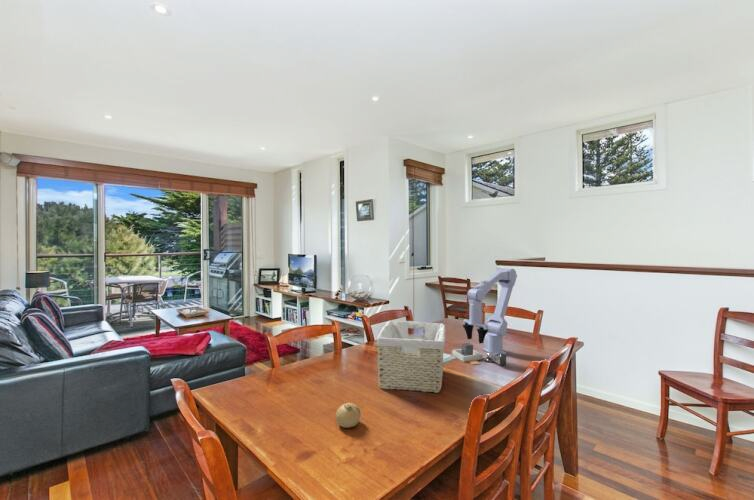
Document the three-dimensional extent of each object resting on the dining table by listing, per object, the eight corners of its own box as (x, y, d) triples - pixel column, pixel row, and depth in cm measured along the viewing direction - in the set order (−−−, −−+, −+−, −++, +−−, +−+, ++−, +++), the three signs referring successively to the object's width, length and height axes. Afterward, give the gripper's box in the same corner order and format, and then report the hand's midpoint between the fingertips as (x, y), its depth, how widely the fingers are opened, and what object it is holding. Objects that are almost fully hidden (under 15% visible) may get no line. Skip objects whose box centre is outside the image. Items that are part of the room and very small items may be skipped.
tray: (452, 354, 178) (452, 349, 178) (470, 352, 181) (470, 347, 181) (463, 361, 168) (463, 356, 168) (482, 359, 171) (482, 354, 171)
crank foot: (483, 359, 171) (483, 357, 171) (491, 358, 172) (492, 356, 172) (489, 363, 166) (489, 361, 166) (498, 362, 168) (498, 359, 167)
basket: (445, 397, 131) (445, 339, 131) (374, 390, 137) (374, 335, 136) (445, 370, 158) (446, 322, 157) (386, 365, 163) (386, 319, 162)
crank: (485, 357, 170) (485, 347, 170) (491, 356, 171) (491, 347, 171) (501, 366, 159) (502, 355, 159) (507, 365, 160) (507, 355, 160)
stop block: (461, 355, 176) (461, 343, 175) (468, 354, 177) (468, 342, 177) (465, 357, 172) (465, 345, 172) (472, 357, 173) (473, 345, 173)
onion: (330, 424, 112) (330, 402, 112) (349, 415, 118) (349, 394, 118) (346, 434, 107) (346, 411, 106) (365, 424, 112) (365, 402, 112)
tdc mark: (468, 361, 168) (468, 361, 168) (475, 361, 169) (475, 360, 169) (473, 364, 164) (473, 364, 164) (480, 363, 165) (480, 363, 165)
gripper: (458, 311, 176) (458, 338, 176) (480, 317, 163) (480, 346, 164) (469, 309, 179) (469, 336, 180) (491, 315, 167) (491, 343, 167)
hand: (475, 340), depth 172 cm, fingers open, 7 cm apart
